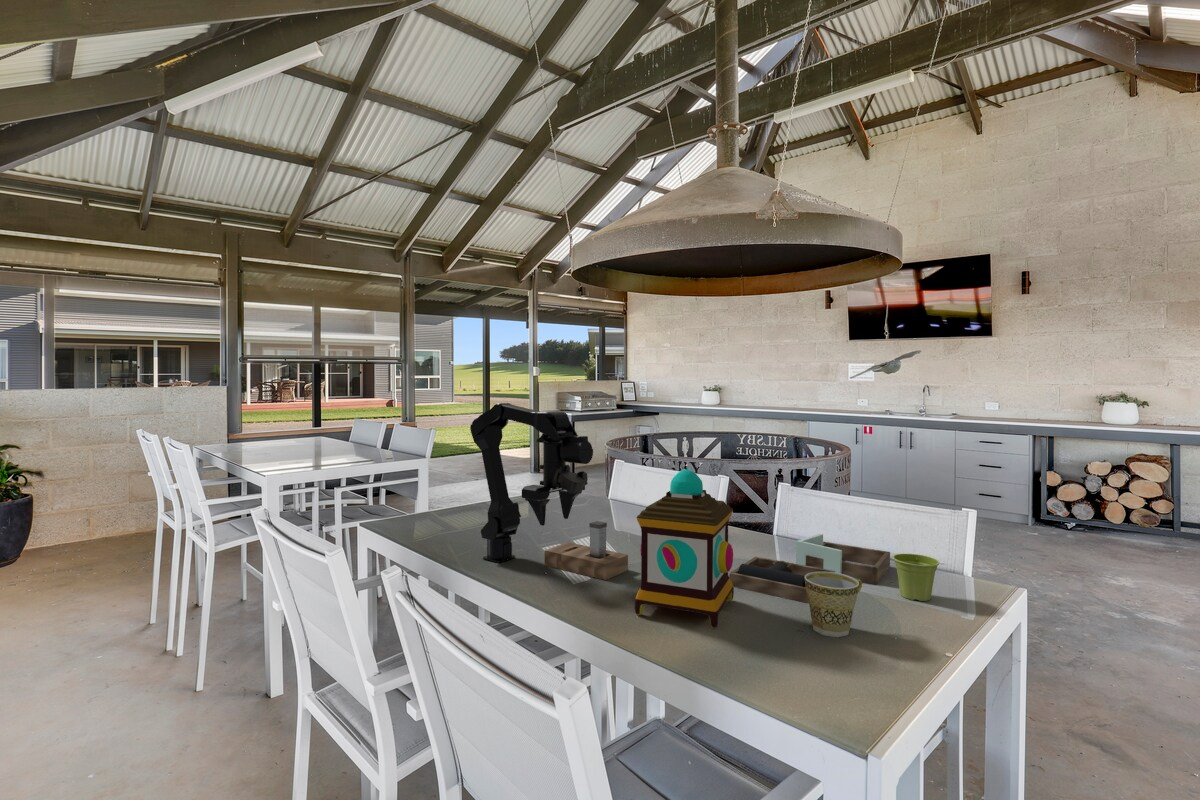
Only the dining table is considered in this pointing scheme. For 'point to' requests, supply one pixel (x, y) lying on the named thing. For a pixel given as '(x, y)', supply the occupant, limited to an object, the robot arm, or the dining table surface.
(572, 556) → the bit block
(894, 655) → the dining table surface
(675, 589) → the decorative lantern
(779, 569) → the pipe connector
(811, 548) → the l-shaped corner panel
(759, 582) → the wooden tray
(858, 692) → the dining table surface
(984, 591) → the dining table surface
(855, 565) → the brown shallow square box
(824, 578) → the ceramic cup
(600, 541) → the block
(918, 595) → the plant pot
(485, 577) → the dining table surface
